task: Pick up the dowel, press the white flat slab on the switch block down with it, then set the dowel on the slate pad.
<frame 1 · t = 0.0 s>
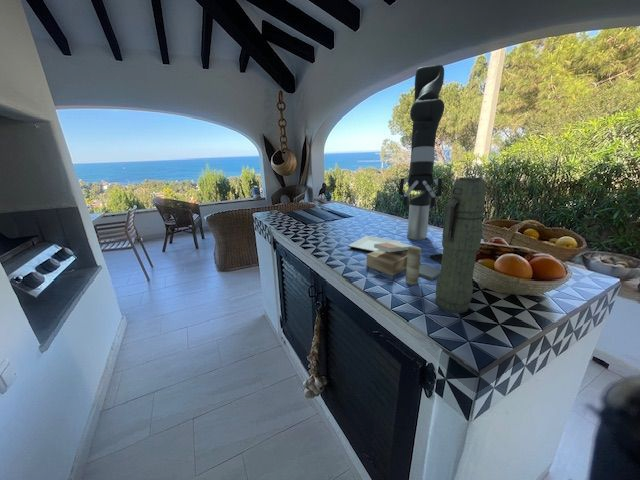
hand: (418, 207, 93), 22 cm above the counter, tool pointing down, fingers open, 8 cm apart
white flat slab: (394, 246, 98), point 7 cm above the counter, hinge at -10.0°
plate: (374, 247, 121), on the counter
switch block: (393, 264, 101), on the counter
phone: (449, 263, 101), on the counter
dowel: (411, 281, 86), on the counter
slate pad: (427, 273, 92), on the counter
thermos: (451, 304, 73), on the counter
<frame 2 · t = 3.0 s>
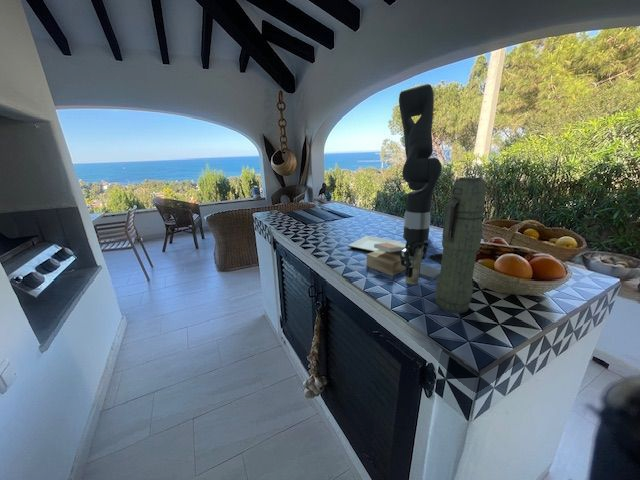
hand: (412, 274, 85), 3 cm above the counter, tool pointing down, fingers closed on dowel, 4 cm apart
dowel: (411, 281, 86), on the counter, touching gripper
everything else where it was.
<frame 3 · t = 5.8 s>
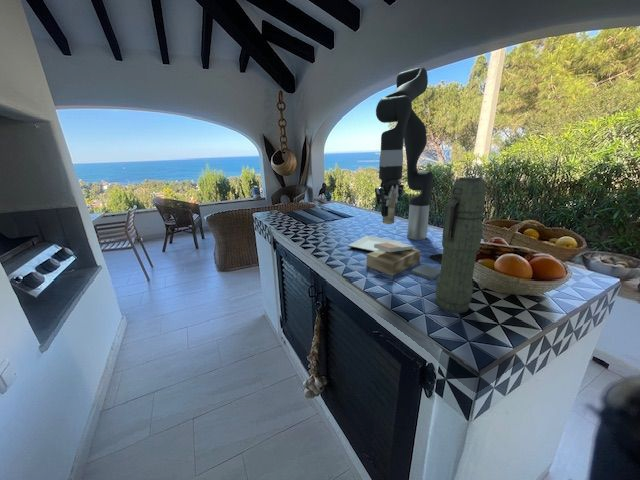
hand: (388, 214, 90), 21 cm above the counter, tool pointing down, fingers closed on dowel, 4 cm apart
dowel: (388, 222, 91), point 18 cm above the counter, touching gripper
everything else where it was.
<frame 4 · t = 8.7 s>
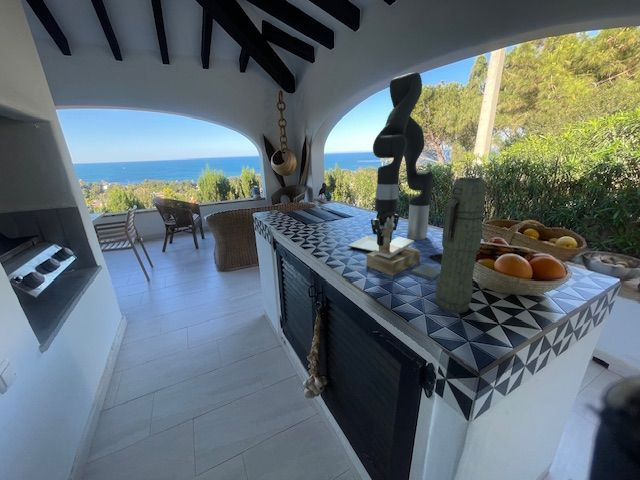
hand: (384, 243, 94), 10 cm above the counter, tool pointing down, fingers closed on dowel, 4 cm apart
white flat slab: (394, 246, 98), point 7 cm above the counter, hinge at 6.8°, touching dowel
dowel: (384, 250, 95), point 7 cm above the counter, touching gripper, white flat slab
everything else where it was.
when the fingers open (5 cm above the counter, at t = 13.4 s): dowel drops 1 cm, resting on slate pad.
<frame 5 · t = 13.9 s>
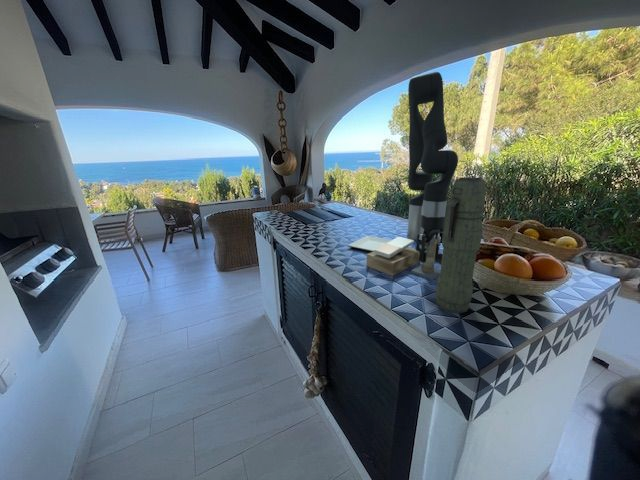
hand: (428, 258, 90), 6 cm above the counter, tool pointing down, fingers open, 8 cm apart
white flat slab: (394, 246, 98), point 7 cm above the counter, hinge at 7.0°
dowel: (427, 270, 92), point 1 cm above the counter, touching slate pad
everything else where it was.
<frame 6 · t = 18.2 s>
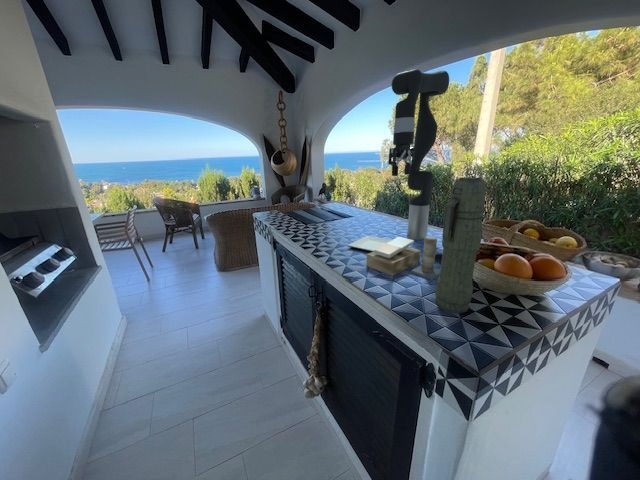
hand: (401, 175, 103), 33 cm above the counter, tool pointing down, fingers open, 8 cm apart
nothing on the counter moved.
at the end: white flat slab at +7° (first picture: -10°); dowel 0.1 cm off-centre on the slate pad, point 1.0 cm above the slate pad's base; dowel tilted 0° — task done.
